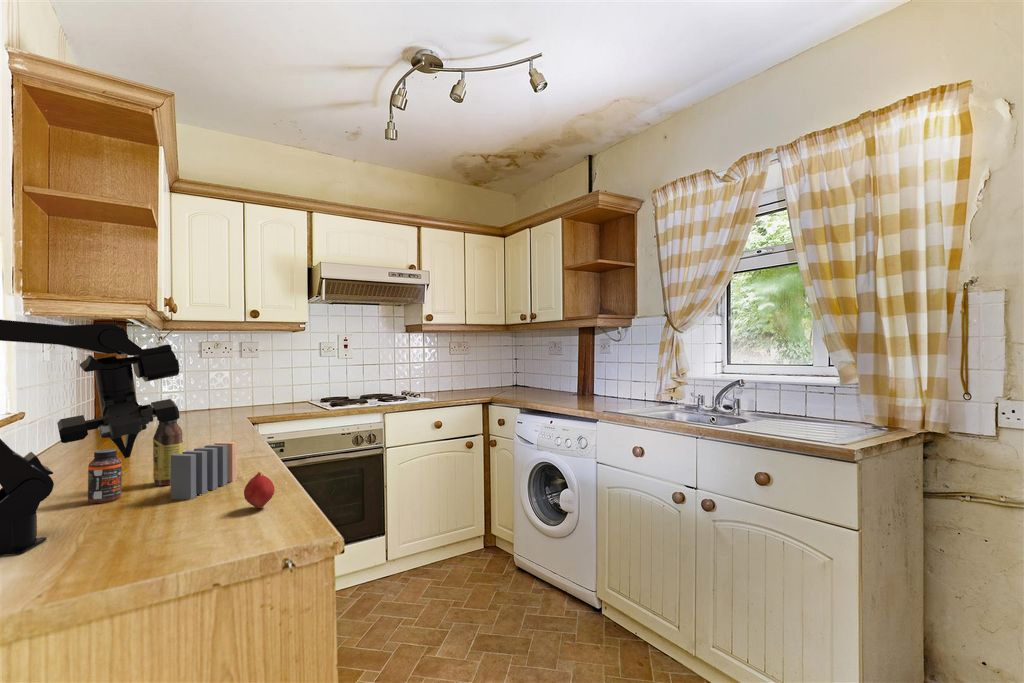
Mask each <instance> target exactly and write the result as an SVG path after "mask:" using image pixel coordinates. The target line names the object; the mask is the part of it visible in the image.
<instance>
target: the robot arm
mask: <svg viewBox="0 0 1024 683" xmlns="http://www.w3.org/2000/svg"><path fill="white" fill-rule="evenodd" d="M0 342H16V343H29V344H41V345H42V344H43V345H55V346H57V345H58V346H64V347H69V348H73V349H77V350H82V351H87V352H90V353H91V352H92V353H97V354H110V355H109V356H103V357H99V358H98V357H97V358H96V357H94V356H93V355H91V354H89V355H88V356H87V357H86V358H85V360H83V361H82V362H80V363H79V367H80V369H82V370H83V371H84V372H85V373H89V372H94V375H95V376H94V377H95V382H96V389H97V394H98V402H99V406H100V411H101V417H97V418H92V419H87V420H86V419H85V415H84V414H82V415H76V416H71V417H64V418H60V419H59V420H58V422H57V423H56V424H57V429H58V433H59V438H60V443H62V444H67V443H72V442H77V441H82V440H85V439H86V438H87V436H88V435H89V432H88V431H92V430H98V432H99V436H100V438H101V439H109V440H111V441H112V443H114V444H115V445H116V447H117V448H118V450H119V451H120V453H121V454H122V456H123V457H124V458H125V459H127V458H130V457H131V455H132V451H133V447H134V444H135V442H136V439H137V437H138V436H139V433H141V432H142V431H144V430H146V429H147V428H148V426H147V425H149V423H152V422H154V418H156V421H158V422H159V421H160V422H162V423H163V422H168V421H173V420H177V421H178V420H179V419H180V411H179V406H178V405H177V404H176V403H175V401H174V400H173V399H171V398H168V399H167V398H166V399H163V400H161V399H160V400H157V401H152V402H150V403H149V404H144V405H142V404H139V403H138V400H137V393H136V392H137V391H136V387H135V385H136V384H135V378H134V375H135V376H136V378H137V379H142V380H143V381H144V382H151V381H157V380H162V379H167V378H171V377H177V376H179V374H180V363H179V360H178V359H177V356H176V354H175V352H174V351H173V349H172V346H171V345H172V344H163V345H158V346H155V347H148V348H142V347H140V346H139V345H137V344H136V343H135V342H133V341H132V340H131V339H129V335H128V332H127V331H126V330H125V328H123V327H122V326H121V325H119V324H115V323H93V324H92V323H91V324H90V323H89V324H87V323H86V324H71V325H70V324H67V325H65V324H64V325H63V324H53V323H44V322H43V323H42V322H32V321H31V322H30V321H18V320H10V319H0ZM111 354H116V355H120V356H128V357H120V358H119V357H118V358H117V357H116V356H115V355H111ZM177 406H178V407H177ZM123 436H124V438H125V439H124V440H123ZM50 475H54V471H52V470H51V469H50V468H49V467H48V466H46V465H44V464H42V462H41V460H40V459H39V457H38V456H37V455H36V454H35V453H34V452H33V451H30V452H28V453H27V454H26V455H25V456H22V455H21V454H19V453H17V452H16V451H15V450H13V449H11V447H9V445H8V444H6V442H5V441H3V439H1V438H0V486H1V488H0V556H11V555H20V554H24V553H26V552H28V551H29V550H31V549H33V548H35V547H36V546H38V545H40V544H43V543H44V542H45V541H47V537H46V536H43V537H37V536H38V534H37V533H38V530H37V528H38V526H37V525H38V524H37V523H38V520H37V519H38V517H37V516H38V515H37V510H38V508H39V506H40V503H42V502H43V501H45V499H47V498H48V497H49V496H50V494H52V492H53V488H54V486H55V483H54V480H53V479H52V477H51V476H50Z"/></svg>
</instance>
